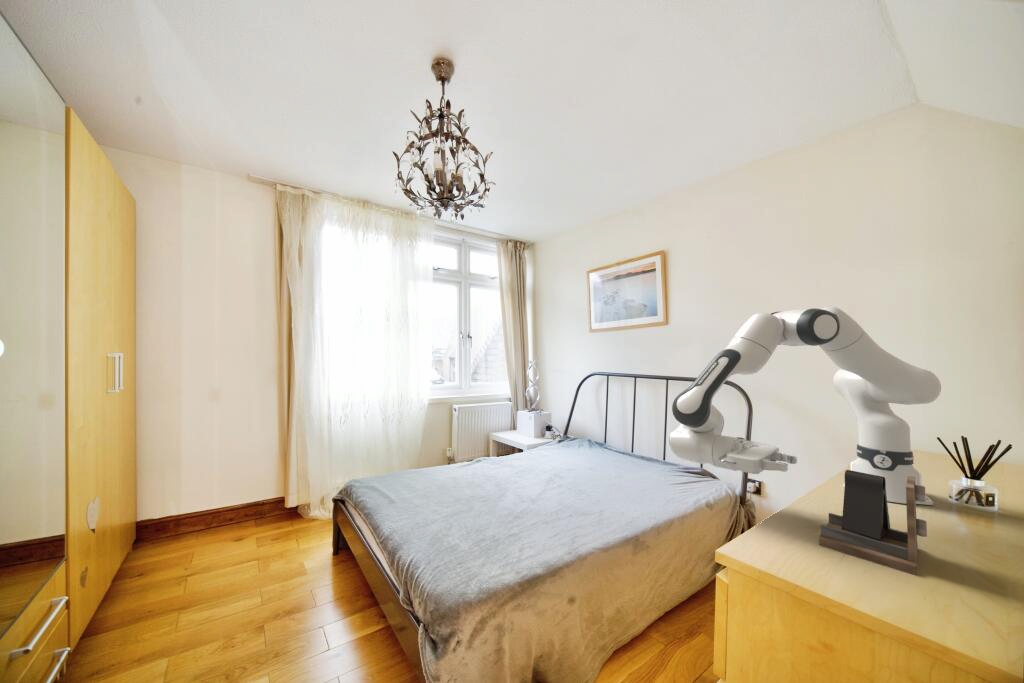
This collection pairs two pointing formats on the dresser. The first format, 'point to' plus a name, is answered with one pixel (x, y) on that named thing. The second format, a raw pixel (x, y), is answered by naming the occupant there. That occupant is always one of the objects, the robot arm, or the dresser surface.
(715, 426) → the robot arm
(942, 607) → the dresser surface
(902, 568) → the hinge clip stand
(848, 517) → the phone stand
